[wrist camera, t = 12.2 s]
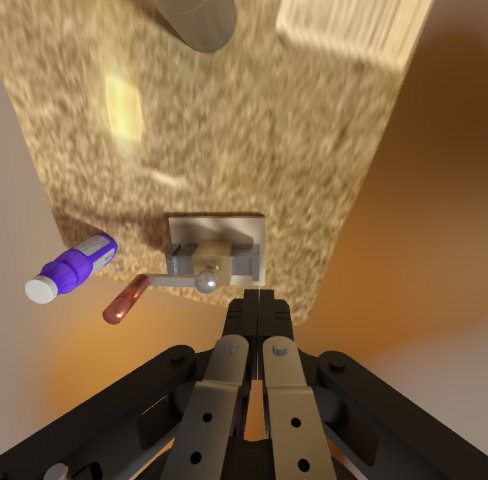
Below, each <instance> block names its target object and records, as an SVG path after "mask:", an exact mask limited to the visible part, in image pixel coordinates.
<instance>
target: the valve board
mask: <svg viewBox="0 0 488 480" xmlns="http://www.w3.org/2000/svg"><path fill="white" fill-rule="evenodd" d="M169 226H170V233H171V241H172V245H173V244H174V243H181V248H184V247H185V245H186V244H187V243H197V247H198V245H199V243H200V242H201V240H233V249H238V244H249V249H253V244H260V274H259V281H252V276H239V275H232V278H231V282H230V285H253V286H265V216H171V217H170V218H169Z"/></svg>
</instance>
